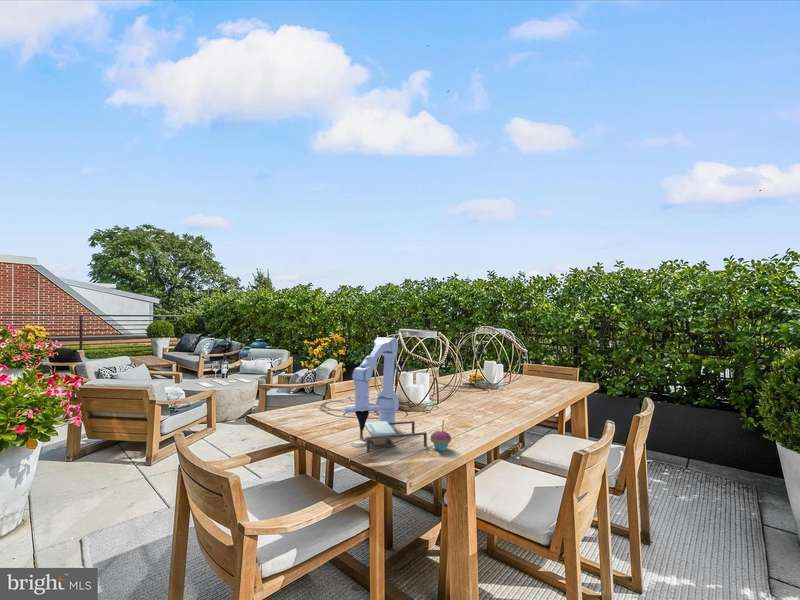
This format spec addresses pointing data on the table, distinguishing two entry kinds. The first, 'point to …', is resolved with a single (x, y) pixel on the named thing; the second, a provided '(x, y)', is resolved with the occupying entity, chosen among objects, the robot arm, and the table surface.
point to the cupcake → (441, 439)
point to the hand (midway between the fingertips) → (361, 429)
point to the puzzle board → (389, 442)
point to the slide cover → (379, 429)
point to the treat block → (379, 441)
